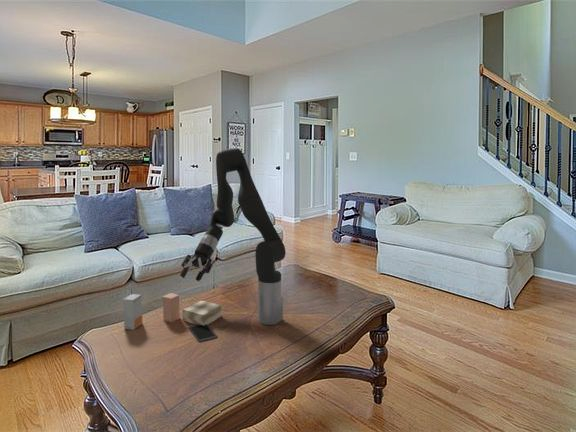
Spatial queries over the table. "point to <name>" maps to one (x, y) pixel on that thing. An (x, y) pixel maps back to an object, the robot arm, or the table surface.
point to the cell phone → (202, 332)
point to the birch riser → (201, 312)
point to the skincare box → (132, 311)
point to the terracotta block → (171, 307)
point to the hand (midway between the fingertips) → (189, 278)
